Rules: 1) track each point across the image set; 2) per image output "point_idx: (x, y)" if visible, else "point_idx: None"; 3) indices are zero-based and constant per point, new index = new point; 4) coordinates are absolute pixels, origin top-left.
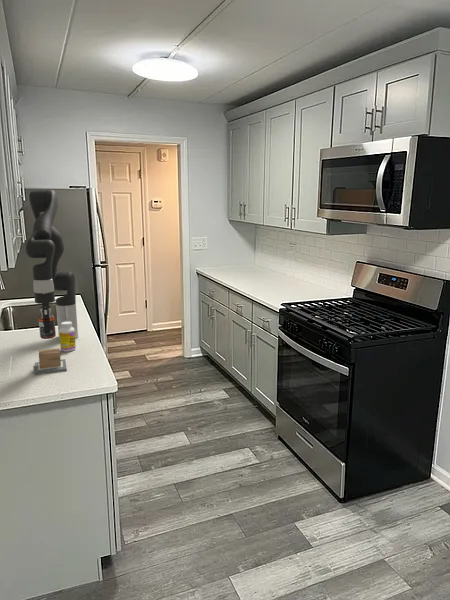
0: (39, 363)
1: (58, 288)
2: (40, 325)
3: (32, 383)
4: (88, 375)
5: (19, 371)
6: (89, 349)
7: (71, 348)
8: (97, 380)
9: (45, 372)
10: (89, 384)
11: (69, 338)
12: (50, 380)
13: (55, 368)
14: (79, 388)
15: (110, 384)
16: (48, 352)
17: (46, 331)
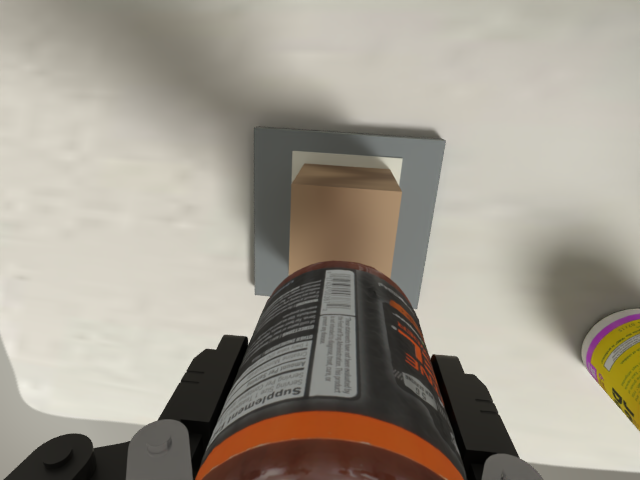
0: (301, 169)
1: None
2: (270, 363)
3: (122, 107)
4: (162, 360)
5: (360, 32)
6: (550, 429)
7: (588, 365)
8: (93, 379)
9: (256, 187)
10: (53, 345)
11: (634, 409)
12: (143, 201)
13: (277, 244)
14: (15, 305)
15: (39, 408)
16: (313, 253)
17: (194, 368)
